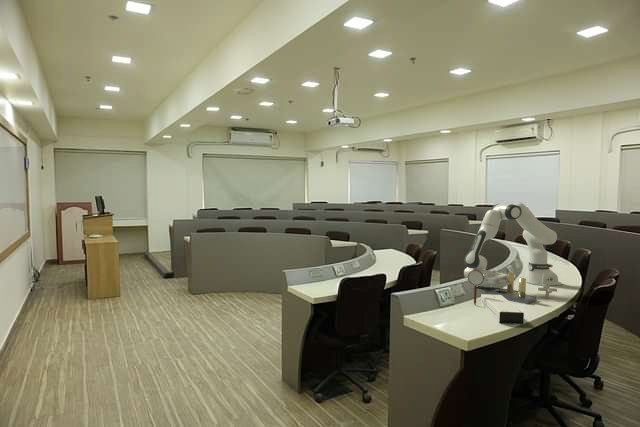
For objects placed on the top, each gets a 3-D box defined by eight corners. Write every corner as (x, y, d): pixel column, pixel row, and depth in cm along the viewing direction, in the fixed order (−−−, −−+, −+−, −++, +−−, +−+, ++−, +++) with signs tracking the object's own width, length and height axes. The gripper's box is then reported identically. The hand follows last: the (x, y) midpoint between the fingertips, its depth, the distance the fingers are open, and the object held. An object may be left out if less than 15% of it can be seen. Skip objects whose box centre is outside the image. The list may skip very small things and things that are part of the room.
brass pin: (511, 292, 261) (511, 272, 260) (514, 293, 257) (515, 273, 257) (505, 292, 261) (506, 272, 260) (509, 293, 257) (509, 273, 256)
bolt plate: (487, 295, 252) (488, 275, 251) (496, 292, 260) (497, 272, 259) (528, 304, 234) (529, 281, 233) (536, 300, 242) (537, 278, 241)
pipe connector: (559, 300, 242) (560, 283, 242) (541, 299, 244) (541, 282, 244) (553, 296, 252) (553, 280, 251) (535, 295, 254) (536, 279, 253)
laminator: (480, 304, 233) (481, 294, 233) (503, 305, 232) (503, 294, 231) (499, 324, 200) (499, 311, 199) (525, 325, 198) (526, 312, 198)
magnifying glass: (466, 304, 233) (467, 269, 231) (467, 303, 234) (468, 269, 233) (482, 306, 228) (483, 271, 227) (483, 306, 229) (484, 270, 228)
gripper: (480, 274, 262) (502, 278, 252) (495, 270, 276) (516, 273, 266) (480, 284, 263) (501, 288, 252) (495, 279, 276) (516, 283, 266)
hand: (509, 280), depth 259 cm, fingers open, 8 cm apart
